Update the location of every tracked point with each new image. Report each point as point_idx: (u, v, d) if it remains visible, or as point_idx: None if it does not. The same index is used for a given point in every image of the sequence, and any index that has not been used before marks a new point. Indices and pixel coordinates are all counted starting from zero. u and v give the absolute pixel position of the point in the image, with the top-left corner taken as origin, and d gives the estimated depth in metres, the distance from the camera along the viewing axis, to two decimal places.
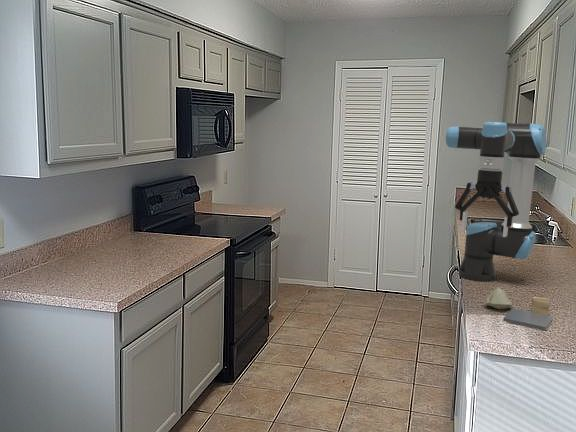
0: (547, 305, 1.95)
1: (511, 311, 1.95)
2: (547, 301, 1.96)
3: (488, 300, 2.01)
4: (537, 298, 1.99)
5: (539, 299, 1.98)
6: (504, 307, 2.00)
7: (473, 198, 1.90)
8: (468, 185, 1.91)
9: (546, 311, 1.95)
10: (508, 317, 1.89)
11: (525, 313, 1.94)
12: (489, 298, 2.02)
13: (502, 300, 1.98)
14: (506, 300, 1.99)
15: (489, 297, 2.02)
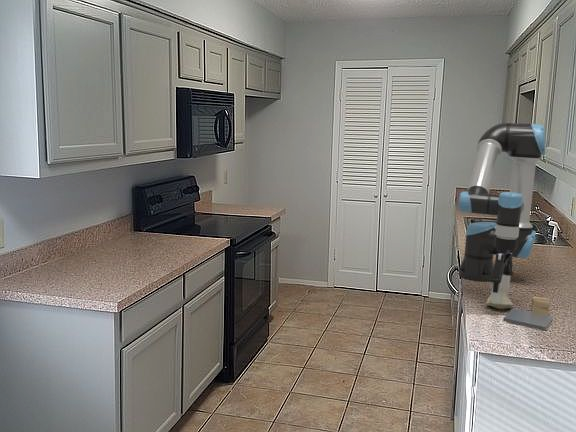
0: (547, 305, 1.95)
1: (511, 311, 1.95)
2: (547, 301, 1.96)
3: (489, 300, 2.01)
4: (537, 298, 1.99)
5: (539, 299, 1.98)
6: (505, 307, 2.00)
7: None
8: None
9: (546, 311, 1.95)
10: (508, 317, 1.89)
11: (525, 313, 1.94)
12: (490, 298, 2.02)
13: (503, 300, 1.98)
14: (507, 300, 1.99)
15: (490, 297, 2.02)
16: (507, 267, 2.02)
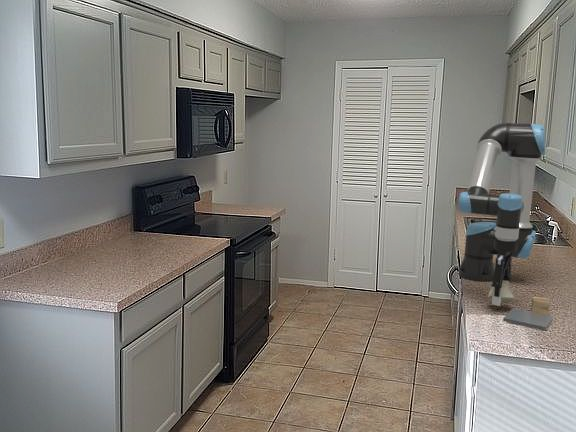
0: (547, 305, 1.95)
1: (511, 311, 1.95)
2: (547, 301, 1.96)
3: (490, 293, 2.01)
4: (537, 298, 1.99)
5: (539, 299, 1.98)
6: (506, 300, 2.00)
7: None
8: None
9: (546, 311, 1.95)
10: (508, 317, 1.89)
11: (525, 313, 1.94)
12: (491, 291, 2.02)
13: (504, 293, 1.98)
14: (508, 293, 1.99)
15: (491, 290, 2.02)
16: (506, 270, 2.02)
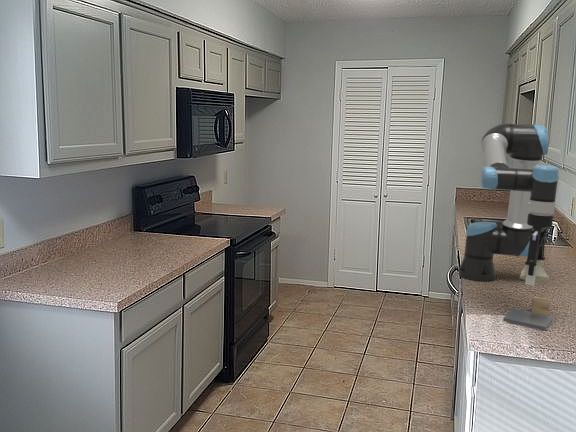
0: (547, 305, 1.95)
1: (511, 311, 1.95)
2: (547, 301, 1.96)
3: (523, 273, 1.88)
4: (537, 298, 1.99)
5: (539, 299, 1.98)
6: (541, 280, 1.86)
7: None
8: None
9: (546, 311, 1.95)
10: (508, 317, 1.89)
11: (525, 313, 1.94)
12: (524, 271, 1.88)
13: (538, 272, 1.85)
14: (543, 272, 1.85)
15: (524, 270, 1.89)
16: (540, 249, 1.89)
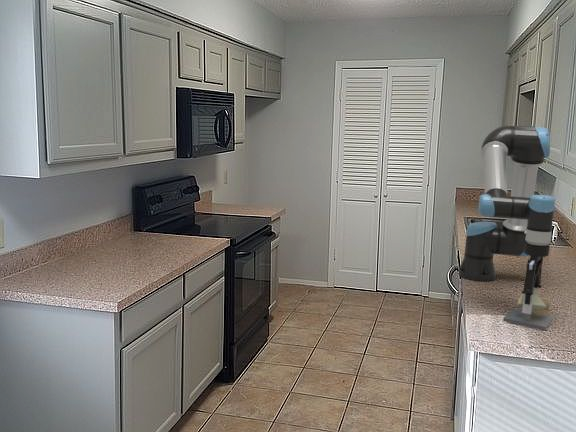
0: (547, 305, 1.95)
1: (511, 311, 1.95)
2: (547, 301, 1.96)
3: (520, 301, 1.89)
4: None
5: None
6: (537, 308, 1.88)
7: None
8: None
9: (546, 311, 1.95)
10: (508, 317, 1.89)
11: (525, 313, 1.94)
12: (521, 299, 1.90)
13: (535, 300, 1.86)
14: (539, 301, 1.87)
15: (521, 298, 1.90)
16: (536, 277, 1.90)
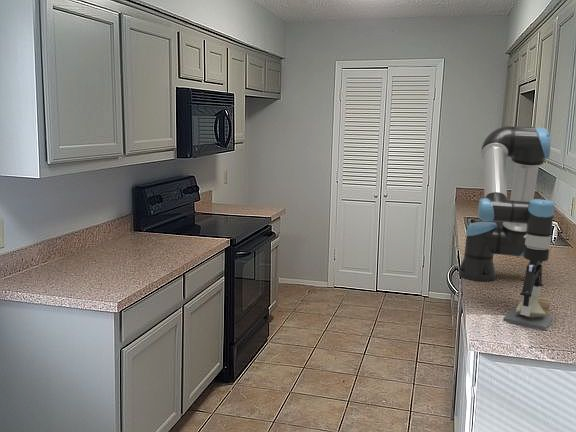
0: (547, 305, 1.95)
1: (511, 311, 1.95)
2: (547, 301, 1.96)
3: (519, 308, 1.90)
4: None
5: (539, 299, 1.98)
6: (536, 316, 1.88)
7: None
8: None
9: (546, 311, 1.95)
10: (508, 317, 1.89)
11: None
12: (520, 306, 1.90)
13: (534, 308, 1.86)
14: (538, 308, 1.87)
15: (520, 305, 1.90)
16: (537, 278, 1.92)
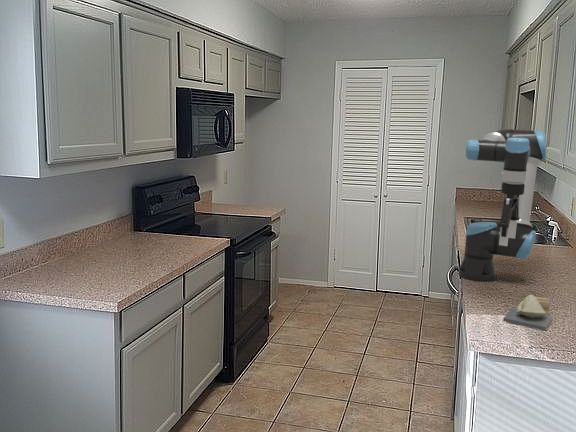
0: (547, 305, 1.95)
1: (511, 311, 1.95)
2: (547, 301, 1.96)
3: (520, 308, 1.90)
4: (537, 298, 1.99)
5: (539, 299, 1.98)
6: (537, 316, 1.88)
7: None
8: None
9: (546, 311, 1.95)
10: (508, 317, 1.89)
11: None
12: (520, 306, 1.90)
13: (535, 308, 1.86)
14: (539, 308, 1.87)
15: (521, 305, 1.90)
16: (514, 212, 2.06)
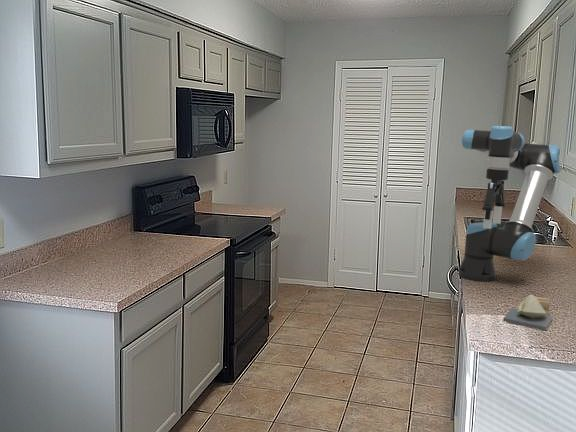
0: (547, 305, 1.95)
1: (511, 311, 1.95)
2: (547, 301, 1.96)
3: (520, 308, 1.90)
4: (537, 298, 1.99)
5: (539, 299, 1.98)
6: (537, 316, 1.88)
7: None
8: None
9: (546, 311, 1.95)
10: (508, 317, 1.89)
11: None
12: (521, 306, 1.90)
13: (535, 308, 1.86)
14: (540, 308, 1.87)
15: (521, 305, 1.91)
16: (499, 198, 2.15)
